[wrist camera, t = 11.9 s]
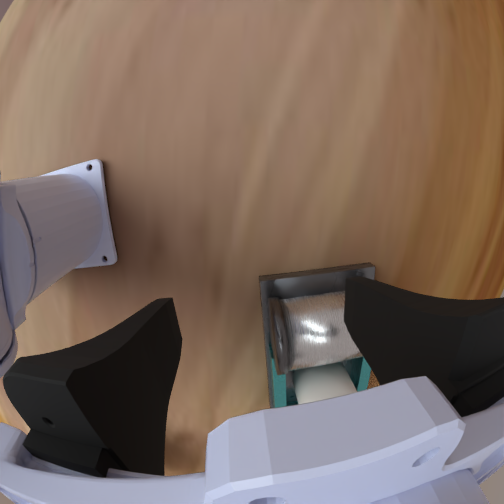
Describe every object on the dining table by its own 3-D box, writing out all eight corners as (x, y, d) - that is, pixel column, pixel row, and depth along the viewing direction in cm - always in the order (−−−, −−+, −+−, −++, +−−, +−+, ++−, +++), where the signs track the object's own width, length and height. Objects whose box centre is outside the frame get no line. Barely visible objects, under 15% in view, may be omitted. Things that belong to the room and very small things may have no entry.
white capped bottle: (303, 399, 24) (320, 457, 17) (283, 369, 22) (298, 434, 15) (349, 377, 23) (376, 432, 16) (334, 344, 22) (364, 404, 15)
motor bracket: (269, 403, 25) (277, 452, 19) (258, 276, 21) (269, 318, 15) (359, 386, 25) (381, 427, 19) (375, 261, 21) (417, 292, 15)
